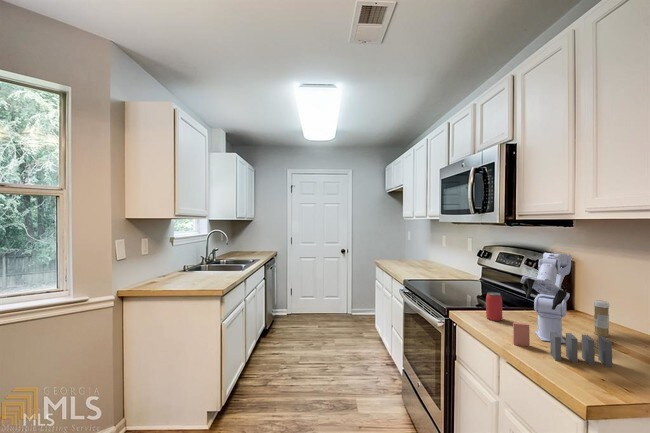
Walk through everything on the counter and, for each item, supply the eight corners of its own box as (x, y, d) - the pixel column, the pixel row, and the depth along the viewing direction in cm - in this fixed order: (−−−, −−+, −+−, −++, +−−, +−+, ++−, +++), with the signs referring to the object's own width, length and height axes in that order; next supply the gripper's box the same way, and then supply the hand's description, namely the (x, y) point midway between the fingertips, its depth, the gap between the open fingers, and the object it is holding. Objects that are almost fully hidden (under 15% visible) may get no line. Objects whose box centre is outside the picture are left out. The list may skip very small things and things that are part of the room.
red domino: (513, 343, 118) (512, 322, 118) (528, 344, 116) (528, 323, 116) (514, 344, 116) (513, 323, 116) (529, 346, 115) (529, 325, 115)
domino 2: (571, 362, 102) (571, 338, 102) (566, 355, 107) (565, 332, 107) (577, 363, 102) (577, 339, 102) (571, 356, 106) (571, 333, 106)
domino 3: (588, 364, 101) (588, 340, 101) (582, 357, 105) (581, 334, 105) (594, 365, 100) (594, 340, 100) (587, 358, 105) (587, 334, 105)
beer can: (499, 322, 140) (498, 296, 140) (484, 319, 145) (483, 293, 145) (504, 319, 144) (504, 293, 144) (489, 315, 149) (489, 290, 149)
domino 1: (555, 360, 104) (555, 336, 104) (550, 354, 109) (550, 331, 108) (561, 361, 103) (560, 337, 103) (555, 354, 108) (555, 331, 108)
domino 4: (605, 366, 99) (605, 341, 99) (598, 359, 104) (598, 336, 104) (612, 367, 99) (611, 342, 98) (604, 360, 103) (604, 336, 103)
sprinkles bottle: (594, 331, 127) (594, 299, 127) (609, 334, 124) (609, 301, 124) (593, 335, 124) (593, 301, 124) (609, 338, 121) (609, 303, 120)
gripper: (528, 263, 116) (521, 284, 107) (574, 280, 109) (571, 304, 99) (521, 277, 120) (514, 298, 111) (565, 294, 112) (562, 318, 103)
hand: (541, 302), depth 105 cm, fingers open, 7 cm apart
